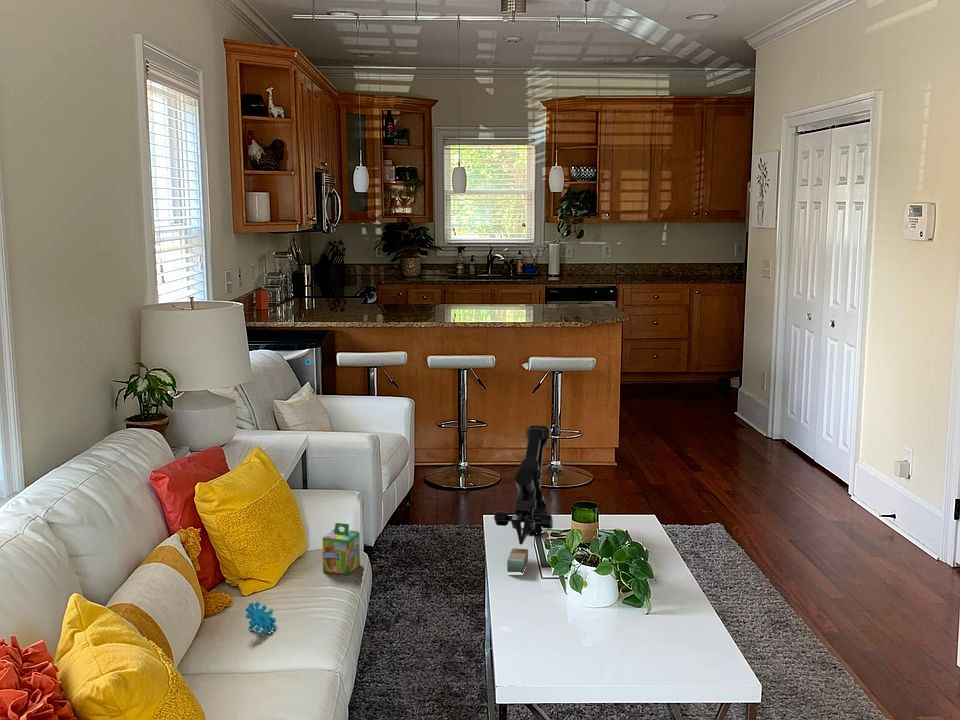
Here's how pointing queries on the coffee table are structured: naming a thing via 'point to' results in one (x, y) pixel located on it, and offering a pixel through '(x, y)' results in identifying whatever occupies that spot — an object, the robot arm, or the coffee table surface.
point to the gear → (260, 618)
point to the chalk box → (341, 550)
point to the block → (517, 560)
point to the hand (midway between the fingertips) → (520, 543)
